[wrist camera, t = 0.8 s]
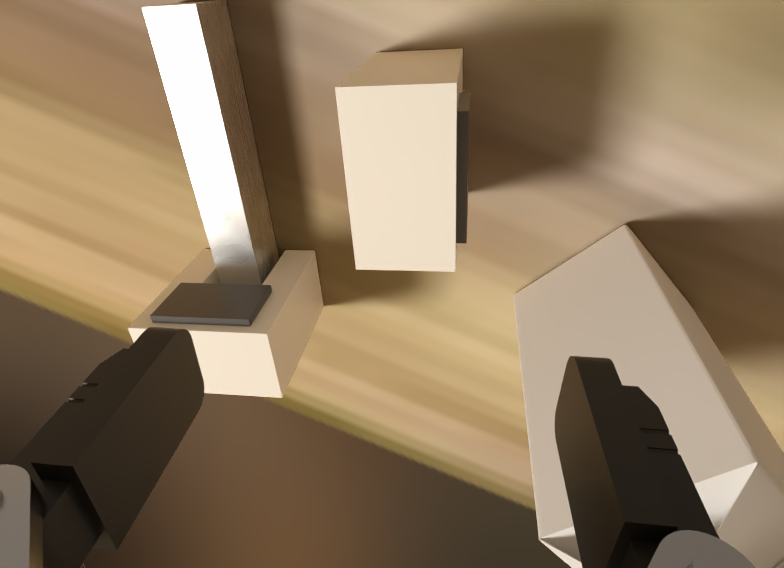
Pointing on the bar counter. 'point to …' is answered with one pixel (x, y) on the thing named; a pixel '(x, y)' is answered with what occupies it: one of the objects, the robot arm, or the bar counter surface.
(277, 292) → the block
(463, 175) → the cream rectangular block
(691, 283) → the bar counter surface
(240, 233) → the rail
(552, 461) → the milk carton
